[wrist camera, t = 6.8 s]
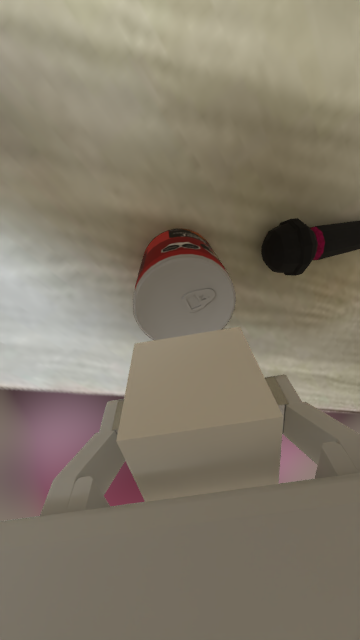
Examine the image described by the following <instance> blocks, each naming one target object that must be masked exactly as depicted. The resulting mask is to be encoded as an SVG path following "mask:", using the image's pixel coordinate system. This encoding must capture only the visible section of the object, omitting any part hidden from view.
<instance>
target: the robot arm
mask: <svg viewBox="0 0 360 640" xmlns="http://www.w3.org/2000/svg"><path fill="white" fill-rule="evenodd" d="M265 380H266V382H267V384H268V386H269V388H270V390H271V392H272V394H273V396H274V398H275V400H276V402H277V405H278V407H279V409H280V411H281V413H282V415H283V429H282V434H284V435H285V436H286V437H287V438H288V439H289V440H290V441H291V442H293V443H294V444H295V445H296V446H297V447H298V448H299V449H300V450H301V451H303V452H304V453H305V454H306V455H307V456H308V457H309V458H310V459H312V460H313V461H314V462H315V463H316V464H317V465H318V467H317V471H316V475H315V479H311V480H303V481H296V482H288V483H280V484H273V485H266V486H258V487H251V488H243V489H236V490H229V491H221V492H214V493H207V494H199V495H192V496H185V497H177V498H170V499H163V500H155V501H148V502H141V503H133V504H126V505H118V506H111V507H110V505H109V504H108V502H107V501H106V499H105V497H104V494H105V493H106V491H107V489H108V488H109V486H110V484H111V483H112V481H113V479H114V478H115V476H116V475H117V473H118V471H119V470H120V468H121V466H122V465H123V463H124V462H125V458H124V456H123V454H122V452H121V450H120V448H119V446H118V444H117V442H116V440H117V434H118V429H119V424H120V419H121V413H122V408H123V403H124V399H121V400H114V401H109V402H108V403H107V405H106V408H105V413H104V416H103V420H102V423H101V427H100V431H99V433H96V434H95V435H94V436H93V437H92V438H91V439H90V440H89V441H88V442H87V443H86V445H85V446H84V447H83V448H82V449H81V450H80V451H79V452H78V453H77V454H76V456H75V457H74V458H73V459H72V460H71V461H70V462H69V463H68V464H67V466H66V467H65V468H64V469H63V470H62V471H61V472H60V473H59V475H58V476H57V477H56V478H55V479H54V480H53V482H52V485H51V488H50V491H49V493H48V496H47V498H46V501H45V504H44V507H43V509H42V512H41V514H40V516H37V517H30V518H22V519H15V520H7V521H0V640H360V434H358V433H357V432H355V431H353V430H352V429H350V428H349V427H347V426H345V425H344V424H342V423H340V422H338V421H337V420H335V419H334V418H332V417H330V416H329V415H327V414H325V413H324V412H322V411H320V410H319V409H317V408H315V407H313V406H312V405H310V404H308V403H307V402H302V401H301V399H300V398H299V396H298V394H297V393H296V391H295V389H294V388H293V386H292V384H291V383H290V381H289V379H288V378H287V376H286V375H278V376H271V377H265Z"/></svg>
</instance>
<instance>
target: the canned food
mask: <svg viewBox="0 0 360 640" xmlns="http://www.w3.org/2000/svg"><path fill="white" fill-rule="evenodd" d="M235 302H236V297H235V290H234V286H233V283H232V280H231V278H230V277H229V275H228V273H227V271H226V270H225V268H224V266H223V265H222V263H221V262H220V260H219V259H218V257H217V256H216V254H215V253H214V251H213V250H212V248H211V247H210V245H209V244H208V242H207V241H206V240H205V239H204V238H203V237H202V236H201V235H199V234H198V233H196V232H194V231H191V230H187V229H173V230H168V231H166V232H163V233H161V234H160V235H158V236H157V237H155V238H154V239H153V240H152V241H151V242H150V244H149V245H148V247H147V248H146V250H145V253H144V256H143V259H142V263H141V267H140V271H139V274H138V278H137V282H136V285H135V291H134V296H133V312H134V316H135V319H136V322H137V323H138V325H139V327H140V328H141V329H142V331H143V332H144V333H145V334H146V335H147V336H149V337H150V338H151V339H153V340H160V339H167V338H173V337H179V336H185V335H191V334H197V333H204V332H210V331H216V330H222V329H223V328H224V327H225V326H226V325H227V323H228V322H229V320H230V319H231V317H232V314H233V311H234V308H235Z"/></svg>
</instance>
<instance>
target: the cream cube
mask: <svg viewBox="0 0 360 640" xmlns="http://www.w3.org/2000/svg"><path fill="white" fill-rule="evenodd" d="M282 429H283V415H282V413H281V411H280V409H279V407H278V405H277V402H276V400H275V398H274V396H273V394H272V392H271V390H270V388H269V386H268V384H267V382H266V380H265V378H264V376H263V374H262V372H261V370H260V367H259V365H258V363H257V361H256V359H255V357H254V355H253V353H252V351H251V349H250V347H249V345H248V343H247V341H246V339H245V337H244V335H243V332H242V330H241V328H240V327H234V328H228V329H222V330H216V331H210V332H204V333H197V334H191V335H185V336H179V337H173V338H167V339H160V340H154V341H148V342H142V343H136V344H135V345H134V350H133V355H132V360H131V366H130V371H129V376H128V382H127V387H126V392H125V397H124V403H123V408H122V413H121V419H120V424H119V429H118V434H117V440H116V442H117V444H118V446H119V448H120V450H121V452H122V454H123V456H124V458H125V460H126V462H127V465H128V467H129V469H130V471H131V473H132V475H133V477H134V479H135V481H136V483H137V485H138V488H139V490H140V492H141V494H142V496H143V498H144V500H145V502H148V501H155V500H163V499H170V498H177V497H185V496H192V495H199V494H207V493H214V492H221V491H229V490H236V489H243V488H251V487H258V486H266V485H273V484H278V481H279V467H280V456H281V455H280V454H281V442H282Z"/></svg>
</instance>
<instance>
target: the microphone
mask: <svg viewBox="0 0 360 640" xmlns="http://www.w3.org/2000/svg"><path fill="white" fill-rule="evenodd" d="M357 249H360V221H355V222H347V223H339V224H331V225H323V226H315V227H312V228H309V227H308V226H307V225H306V224H304V223H303V222H302V221H301V220H299V219H298V218H297V219H290V220H287V221H284V222H281V223H280V225H279V227H276V228H274V229H272V230H271V231H269V232H268V234H267V236H266V238H265V240H264V242H263V245H262V253H261V254H262V258H263V261H264V262H265V263H266V265H267V266H268V267H269V268H270V269H271V270H272V271H274V272H278V273H284V274H285V275H299V274H302V273H303V272H304V271H305V269H306V268H307V267H308V265H309V264H310V263H311V261H312V260H319V259H323V258H327V257H330V256H334V255H338V254H342V253H346V252H350V251H353V250H357Z"/></svg>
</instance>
